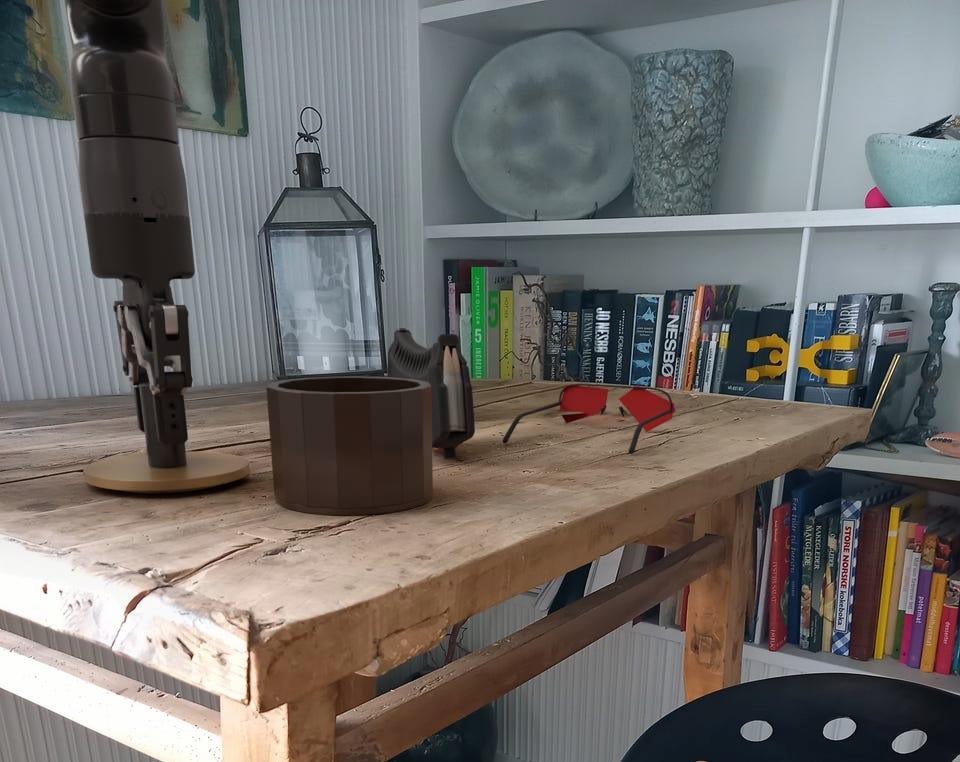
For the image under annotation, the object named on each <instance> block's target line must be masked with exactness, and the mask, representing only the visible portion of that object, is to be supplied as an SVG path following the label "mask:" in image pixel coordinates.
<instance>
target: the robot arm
mask: <svg viewBox="0 0 960 762" xmlns="http://www.w3.org/2000/svg"><path fill="white" fill-rule="evenodd" d="M64 6H65V13H66V19H67V26H68V31H69V32H68V33H69V38H70V44H71V50H72V57H71V59H70V88H71V89H70V90H71V97H72V103H73V104H72V105H73V113H74V120H75V128H76V136H77V137H76V138H77V145H78V146H77V147H78V178H79V188H80V193H81V201H82V209H83V217H84V226H85V231H86V239H87V247H88V255H89V262H90V269H91V273H92V274H93V276H95V277H96V278H97V279H101V280H102V279H103V280H105V279H107V280H115V279H116V280H119V281H120V282H121V283H122V288H121V290H122V300H114V301H113V305H112V307H113V312H114V314H115V322H116V328H117V334H118V340H119V347H120V353H121V360H122V371H123V372H124V375H125V377H127V379H128V382H129V383H130V386H131V387H133V394H134V396H133V397H134V403H135V411H136V418H137V427H138V429H139V431H140V432H142V433H144V434H145V430H144V422H143V414H142V405H141V397H140V389H139V384H141V383H146V382H150V390H151V391H152V394H153V395H154V396H152V397H153V405H154V414H155V422H156V431H157V439H158V441H159V442H161V443H162V444H164V445H169V444H182V443H185V444H186V443H187V441H188V439H189V436H188V435H189V434H188V424H187V415H186V406H185V395H184V394H187V391H188V390H187V389H188V388H192V387H193V383H194V380H193V375H192V360H191V343H190V328H189V310H188V308H187V306H186V304H175V301H174V297H173V291H172V287H171V281H173V280H190V279H192V278H193V277H194V276H195V273H196V269H195V268H196V267H195V259H194V257H195V256H194V249H193V248H194V247H193V238H192V225H191V218H190V207H189V196H188V186H187V179H186V173H185V168H184V164H183V159H182V154H181V148H180V140H179V129H178V118H177V108H176V101H175V92H174V87H173V82H172V77H171V73H170V69H169V66H168V62H167V45H166V29H165V28H166V25H165V10H164V9H165V8H164V0H64ZM165 367H170V369H172V371H165V370H166V369H165Z"/></svg>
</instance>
